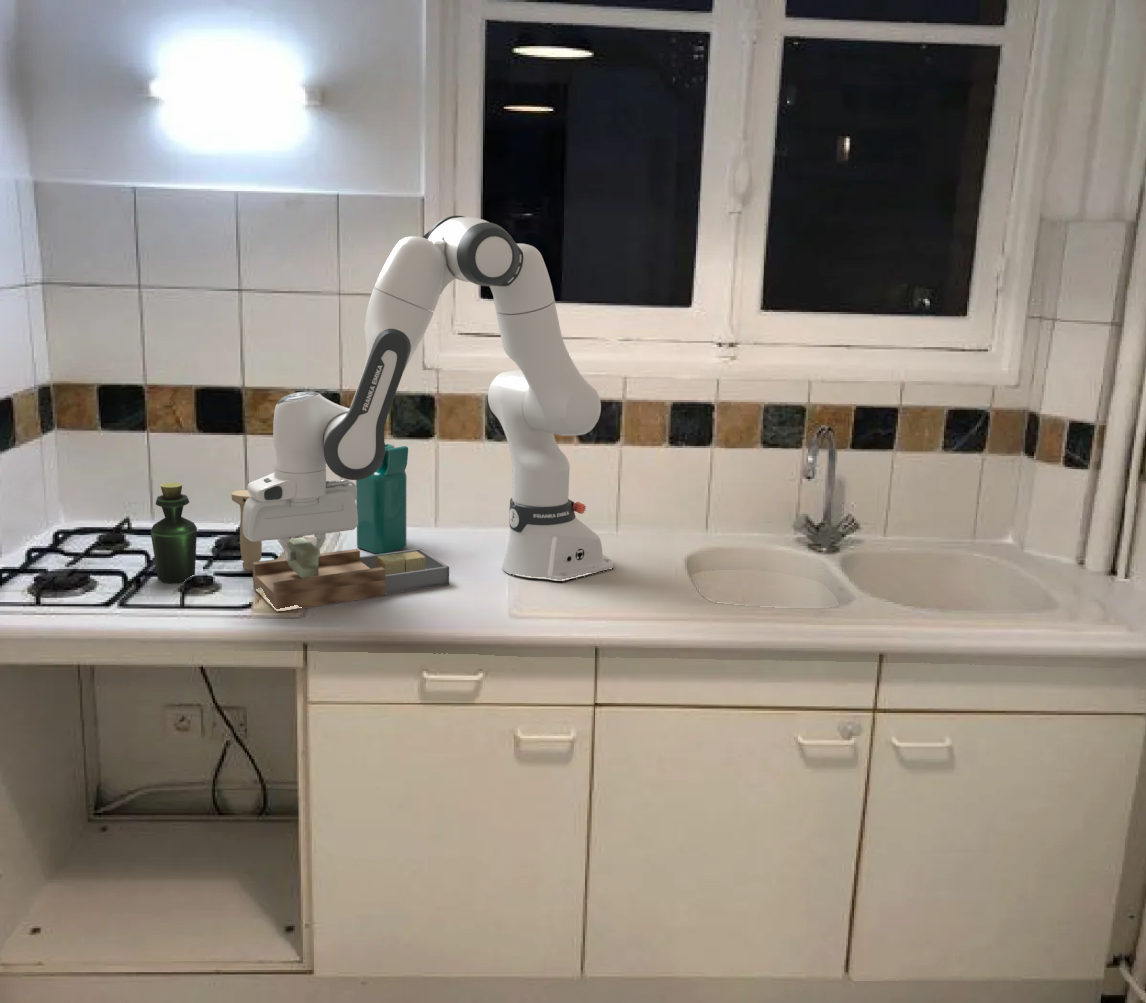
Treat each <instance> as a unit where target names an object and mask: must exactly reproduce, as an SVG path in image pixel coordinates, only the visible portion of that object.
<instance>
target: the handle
mask: <svg viewBox="0 0 1146 1003" xmlns="http://www.w3.org/2000/svg"><path fill="white" fill-rule="evenodd" d="M230 493H231V500H232V501H233V502H234V503H236V504H238V505H239V509H240V524H239V525H240V526H239V546H240V555H241V556H240V557H241V561H242V562H241V564H242V568H243V570H247V571H253V562H259V561H261V559H262V550H263V546H262V545H263V544H262V542H263V541H257V542H251V541H250V540H249V539H247V538H246V537H245V536H244V534H243V510H244V505H245V502H246V500H247V499H248V498H249V497H251V496H250V494H249V493H248V490H247V489H246V490H245V489H244V490H243V489H242V490H235V491H233V492H230Z"/></svg>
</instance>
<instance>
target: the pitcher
mask: <svg viewBox="0 0 1146 1003" xmlns="http://www.w3.org/2000/svg"><path fill="white" fill-rule="evenodd" d="M408 458H409V447H408V446H407V445H406V446H405V445H403V446H397V447H395V445H393V444H390V443H385V456H384V460H383V462H382V464H381V466H380V467H379V469H378V470H377V471H376V472H375V473H374V474H372V475H371V476H369V477H367V478H364V479H360V480H355V485H356V487H357V498H356V500H355V502H356V507H357V514H358V525H357V526H356V547H357V548H358V549H361V550H364V551H366V552H369V553H373V554H376V553H377V554H384V553H392V552H397V551H399V550H403V549H406V547H407V544H408V543H407V542H408V540H407V534H408V533H407V529H408V528H407V519H408V516H407V514H408V513H407V511H408V510H407V508H408V507H407V506H408V505H407V500H408V499H407V496H408V495H407V492H408V490H407V481H408V480H407V479H408V478H407V476H408V475H407V473H406V469H407V465H408ZM377 554H376V555H377Z"/></svg>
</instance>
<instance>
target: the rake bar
mask: <svg viewBox="0 0 1146 1003" xmlns="http://www.w3.org/2000/svg"><path fill="white" fill-rule="evenodd" d="M286 545H287V546H288V548H289V549H293V550H294V551H296V555H295V557H296V560H294V561H288V566H289V567H290V568H291V569H292V570H294V571H295V572H296V573H297V574H298V575H299V576H300V577H302V578H305V577H312V576H319V572H318V548H316V547H315V546H314V543H312V542H310V541H309V540H307V538H305V536H300V537H291V538H289V543H286Z"/></svg>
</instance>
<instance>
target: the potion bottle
mask: <svg viewBox="0 0 1146 1003" xmlns="http://www.w3.org/2000/svg"><path fill="white" fill-rule="evenodd" d="M159 486H160V490H161V493H162V495H159V496H157V498H156V501H155V505H156V506H158V507H161V509H162V512H163V515H164V517H163V518H162V519H161V520H159V521H157V522H155V523H154V524H153V525H152V527H151V529H150V538H151V543H152V550H153V557H154V561H155V562H154V563H155V568H156V576H157V580H158V581H159V582H161V583H163V584H171V585H174V584H175V585H176V584H177V585H178V584H183V582H184V581H185V579H187V578H188V577H190V576H192V575H195V576H196V561H197V560H196V559H197V536H198V535H197V534H198V530H197V529H198V526H196V524H195V522H193V521H191V520H189V519H187V518H185V517H182V515H183V510H184V507H185V506H186V505H188V504H190V500H189V497H188V496H187V495H186V494H183V493H182V489H183V483H181V482H175V481H174V482H172V481H171V482H165V483H161V484H160V485H159Z"/></svg>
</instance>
